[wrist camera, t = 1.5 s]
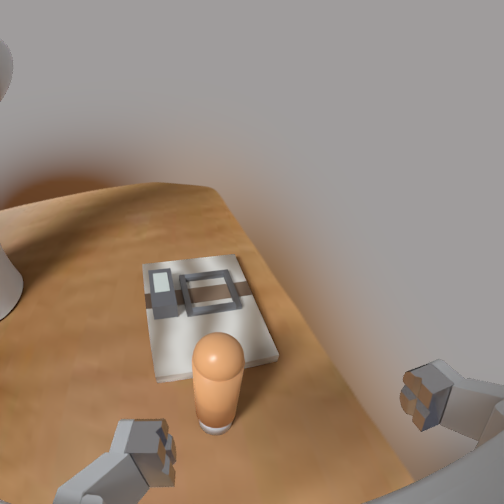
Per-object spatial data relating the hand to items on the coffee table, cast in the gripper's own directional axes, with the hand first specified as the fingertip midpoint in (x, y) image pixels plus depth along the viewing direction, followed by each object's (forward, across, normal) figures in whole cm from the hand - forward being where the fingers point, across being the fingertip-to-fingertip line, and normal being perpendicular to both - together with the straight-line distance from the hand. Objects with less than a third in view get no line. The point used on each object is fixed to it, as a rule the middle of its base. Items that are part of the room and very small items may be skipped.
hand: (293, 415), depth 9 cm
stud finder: (+33, +10, +7) cm, 35 cm away
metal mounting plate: (+33, +5, +10) cm, 35 cm away
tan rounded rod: (+18, +5, +17) cm, 26 cm away
